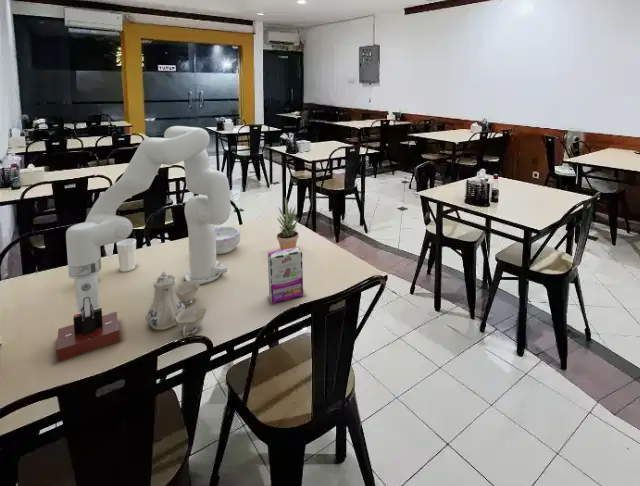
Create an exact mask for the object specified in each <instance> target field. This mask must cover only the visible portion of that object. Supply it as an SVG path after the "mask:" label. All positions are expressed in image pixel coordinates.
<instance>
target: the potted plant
mask: <svg viewBox="0 0 640 486" xmlns="http://www.w3.org/2000/svg"><path fill="white" fill-rule="evenodd" d="M284 208H285V210H284V213H283V211H282V210H281V208H280V207H278V210H279V213H280V214H281V216H280V215H279V216H278V217H277V221H278V223H279V224H280V226H279V228H280V232H278V233H277V234H276V240H277V241H278V244H279V247H280V250H284V249H289V248H294V247H297V242H298V238H299V237H300V236H299V234H300V233H299V232H298V231H297V228H296V227H297V226H298V221H299V219H300V217H298V218H297V219H296V216H297V213H296V207H294V208H293V209H292V207H290V208H289V205H288V199H287V197H284ZM295 219H296V221H295ZM294 221H295V222H294Z"/></svg>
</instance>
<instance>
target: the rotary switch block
mask: <svg viewBox="0 0 640 486" xmlns="http://www.w3.org/2000/svg"><path fill="white" fill-rule="evenodd" d="M102 322H103V326H102V327H99V328H96V330H95V331H92V332H89V333H85V334H82V333H79V334H76V335H75V334H74V324H71V325H67V326H63V327H60V328H58V331H57V340H56V341H57V342H56V362H57V363H60V362H63V361H65V360H68V359H71V358H72V359H73V358H75V357H77V356H81V355H83V354H86V353H89V352H92V351H95V350H98V349H101V348H104V347H107V346H112V345H114V344H116V343H120V342H121V337H120V336H121V335H120V333H121V332H120V325H119V318H118V312H117V311H114V312H111V313H108V314H105V315H102Z"/></svg>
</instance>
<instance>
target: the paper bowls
mask: <svg viewBox="0 0 640 486" xmlns="http://www.w3.org/2000/svg"><path fill="white" fill-rule="evenodd" d="M215 231H216V255H221V254H227V253H230V252H232V251H233V250H234V249H235V248H236V246H238V245H239V244H240V243H241V229H239V228H238V227H235V226H219V227H218V226H217V227H215Z"/></svg>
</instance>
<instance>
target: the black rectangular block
mask: <svg viewBox="0 0 640 486" xmlns="http://www.w3.org/2000/svg"><path fill="white" fill-rule="evenodd" d="M94 309H95V310H94V316H95V324H96V328H99V327H102V326H103V322H102V316H103V309H102V307H98V308H94ZM90 312H91V311H90ZM84 314H85V313H84ZM81 320H82V312H81V313H76V314H74V315H73V325H74V334H75V335H76V334H79V333H82V329H81Z"/></svg>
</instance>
